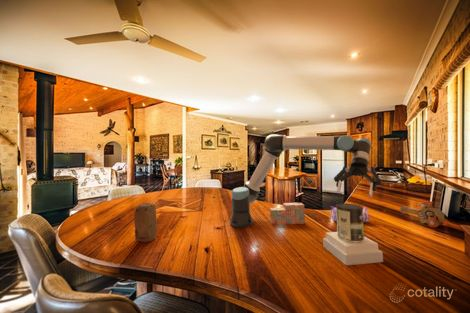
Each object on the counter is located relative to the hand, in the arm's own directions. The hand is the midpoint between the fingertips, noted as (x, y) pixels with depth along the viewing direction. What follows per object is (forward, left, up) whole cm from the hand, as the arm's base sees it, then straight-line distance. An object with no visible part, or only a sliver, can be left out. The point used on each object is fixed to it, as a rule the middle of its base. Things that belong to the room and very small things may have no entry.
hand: (353, 193), depth 91 cm
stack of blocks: (-21, +36, -25) cm, 48 cm away
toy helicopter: (+59, +19, -25) cm, 67 cm away
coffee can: (-8, -7, -18) cm, 21 cm away
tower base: (-8, -7, -25) cm, 27 cm away
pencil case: (+20, +30, -25) cm, 44 cm away
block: (-107, +24, -25) cm, 112 cm away
